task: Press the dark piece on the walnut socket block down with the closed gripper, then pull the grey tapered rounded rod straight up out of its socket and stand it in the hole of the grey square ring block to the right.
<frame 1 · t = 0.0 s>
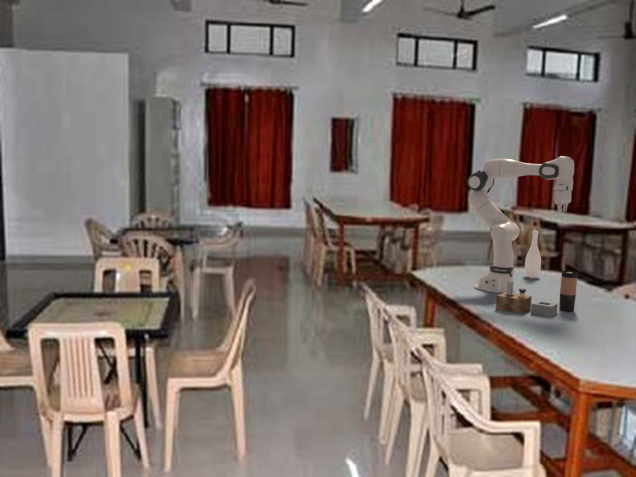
hand: (562, 211, 386), 48 cm above the table, tool pointing down, fingers open, 8 cm apart
socket block: (513, 309, 362), on the table
dark piece: (522, 296, 359), point 7 cm above the table, slide at 0.0 cm
travel mug: (566, 310, 363), on the table
grey square ring block: (543, 313, 355), on the table
grey tapered rounded rod: (508, 308, 363), resting in socket block
wine bottle: (531, 277, 454), on the table
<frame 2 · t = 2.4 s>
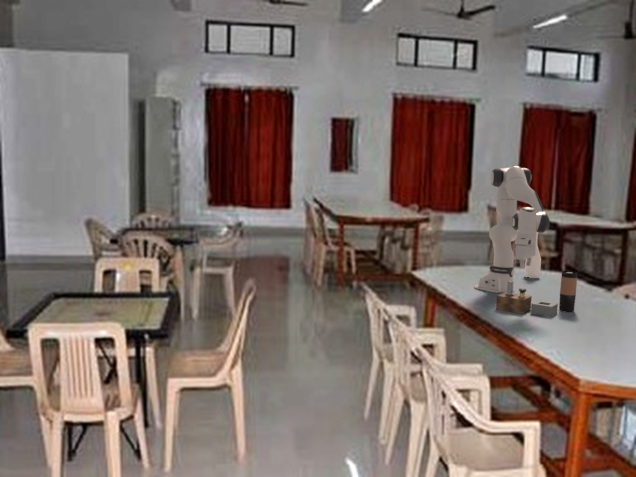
hand: (525, 267, 357), 22 cm above the table, tool pointing down, fingers open, 8 cm apart
nothing on the table moved.
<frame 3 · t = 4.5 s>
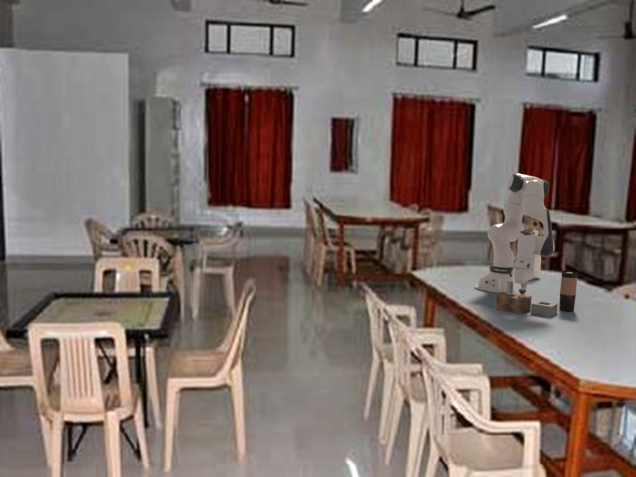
hand: (523, 289, 358), 11 cm above the table, tool pointing down, fingers closed, pressing on dark piece
dark piece: (521, 297, 359), point 7 cm above the table, slide at 0.3 cm, touching gripper
everything else where it was.
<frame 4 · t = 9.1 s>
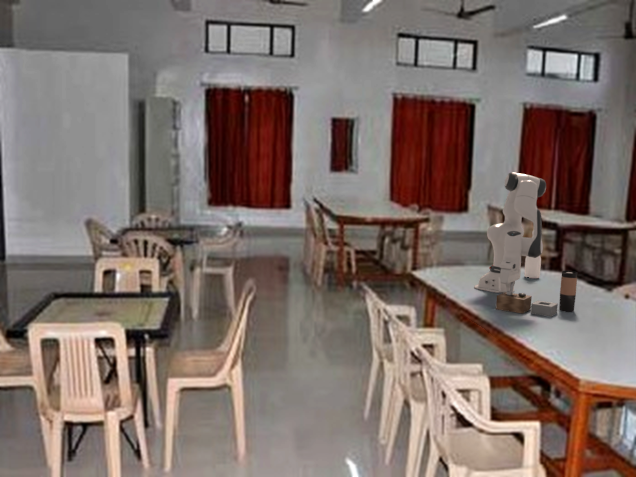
hand: (509, 290, 362), 10 cm above the table, tool pointing down, fingers closed on grey tapered rounded rod, 3 cm apart
dark piece: (521, 301, 359), point 5 cm above the table, slide at 2.4 cm
grey tapered rounded rod: (508, 308, 363), resting in socket block, touching gripper
everything else where it was.
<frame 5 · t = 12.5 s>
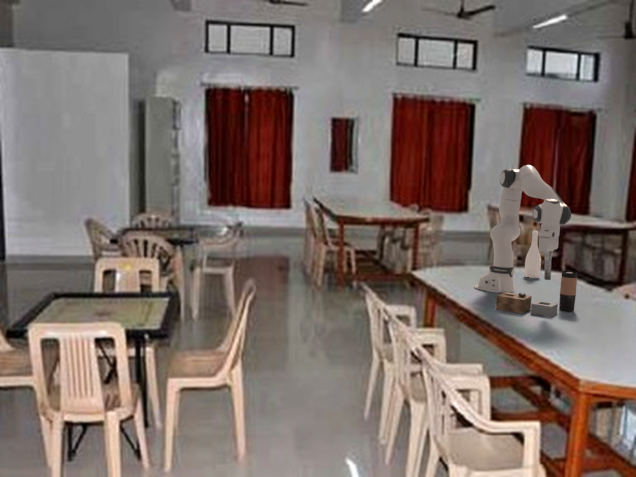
hand: (548, 259, 351), 27 cm above the table, tool pointing down, fingers closed on grey tapered rounded rod, 3 cm apart
grey tapered rounded rod: (547, 279, 353), point 17 cm above the table, touching gripper
everything else where it was.
when the fingers open (12 cm above the table, at t = 15.7 s): grey tapered rounded rod drops 2 cm, resting in grey square ring block.
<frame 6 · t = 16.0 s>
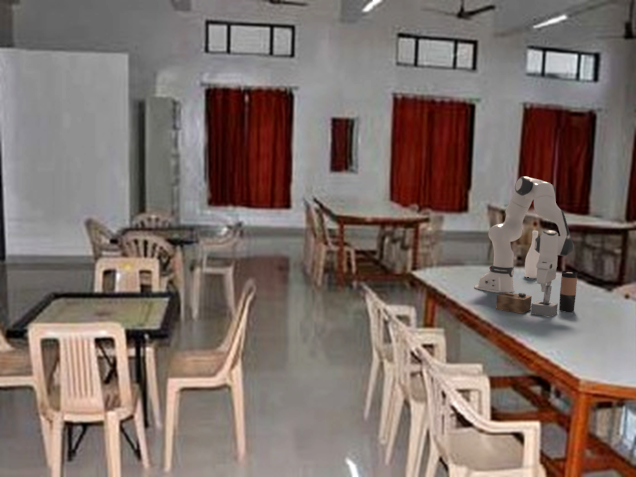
hand: (545, 290, 354), 12 cm above the table, tool pointing down, fingers open, 6 cm apart
grey tapered rounded rod: (544, 313, 355), resting in grey square ring block
everything else where it was.
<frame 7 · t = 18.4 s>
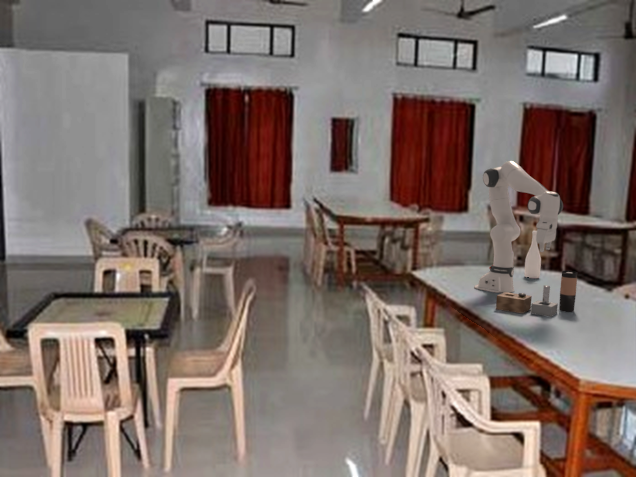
hand: (544, 250, 359), 30 cm above the table, tool pointing down, fingers open, 8 cm apart
nothing on the table moved.
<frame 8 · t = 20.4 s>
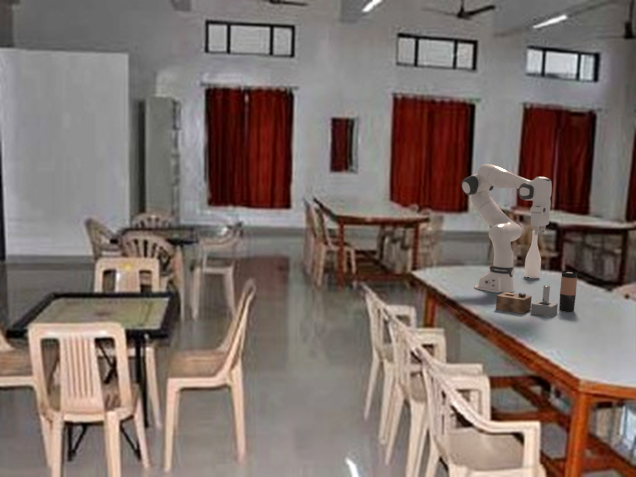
hand: (539, 234, 372), 37 cm above the table, tool pointing down, fingers open, 8 cm apart
nothing on the table moved.
at the end: grey tapered rounded rod 0.3 cm off-centre on the grey square ring block, point 0.0 cm above the grey square ring block's base; grey tapered rounded rod tilted 0°; dark piece slide at 2.4 cm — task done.
